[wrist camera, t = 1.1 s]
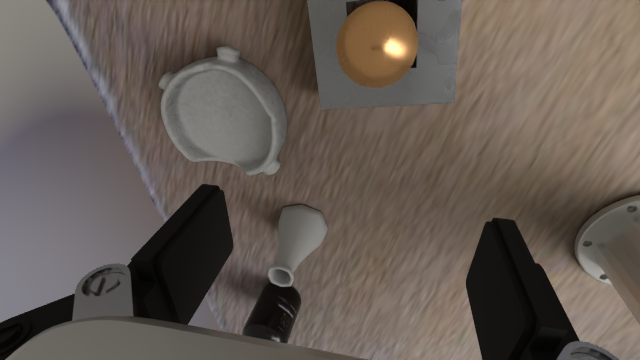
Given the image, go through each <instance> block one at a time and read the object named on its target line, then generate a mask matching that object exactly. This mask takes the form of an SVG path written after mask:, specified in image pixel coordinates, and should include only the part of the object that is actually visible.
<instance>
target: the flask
mask: <svg viewBox="0 0 640 360" xmlns="http://www.w3.org/2000/svg"><path fill="white" fill-rule="evenodd" d="M327 230H328V228H327V225H326V222H325V220H324V217H323V215H322V212H319V211H317V210H315V209H312V208H310V207H307V206H305V205H302V204H301V205H295V206H289V207H283V209H282V212H281V216H280V219H279V222H278V254H277V258H276V261H275V263H274V265H271V266H270V268H269V271H268V274H267V276H268V277H269V279H270V281H271V283H273V284H276V285H278V286H280V287H286V286H291V284H292V282H293V280H294V275H293V273H294V271H295V270H296V268H297V267H298V265H299V264H300V263H301V262H302V261H303V260H304V259H305V258H306V257H307V256H308V255H309V254H310V253H311V252H312V251H314V250H315V249H316V248H317V247H318V246H319V245H320V244H321V243H322V242H323V239H324V237H325V235H326V233H327Z"/></svg>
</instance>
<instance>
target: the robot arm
mask: <svg viewBox="0 0 640 360" xmlns="http://www.w3.org/2000/svg"><path fill="white" fill-rule="evenodd" d="M232 249H233V239H232V233H231V228H230V223H229V217H228V212H227V206H226V201H225V196H224V192H223V190H220V188H219V186H216V185H207V184H202V185H201V186H200V187H199V188H198V189H197V190H196V191H195V192H194V193H193V194H192V195H191V196H190V197H189V198H188V199H187V200H186V202H185V203H184V204H183V205H182V206H181V207H180V208H179V209H178V210H177V211H176V212H175V213H174V214H173V215H172V216H171V217H170V218H169V219H168V221H167V222H166V223H165V224H164V225H163V226H162V227H161V228H160V229H159V230H158V231H157V232H156V233H155V234H154V235H153V236H152V237H151V238H150V240H149V241H148V242H147V243H146V244H145V245H144V246H143V247H142V248H141V249H140V250H139V251H138V253H136V254H135V255H134V256H133V257H132V259H131V260H132V261H131V262H130V263H129V265H128V266H125V265H123V264H108V265H104V266H101V267H99V268H96V269H95V270H93V271H91V272H90V273H88V274H87V275H86V276H85V277H83V278H82V279H81V281H80V282H79V283H78V285H77V288H76V290H75V294H72V295H70V296H67V297H64V298H62V299H59V300H57V301H54V302H51V303H49V304H47V305H44V306H41V307H39V308H36V309H33V310H31V311H28V312H25V313H23V314H20V315H18V316H15V317H12V318H10V319H8V320H5V321H3V322H1V323H0V360H367V359H362V358H357V357H352V356H347V355H342V354H337V353H332V352H327V351H321V350H316V349H311V348H306V347H301V346H296V345H291V344H286V343H280V342H275V341H270V340H265V339H260V338H255V337H249V336H244V335H239V334H234V333H228V332H223V331H217V330H212V329H206V328H202V327H197V326H190V325H188V323H189V322H190V320H191V318H192V317H193V315H194V313H195V312H196V310H197V308H198V307H199V305H200V303H201V302H202V300H203V299H204V297H205V295H206V294H207V292H208V290H209V289H210V287H211V285H212V284H213V282H214V280H215V279H216V277H217V275H218V274H219V272H220V270H221V269H222V267H223V265H224V264H225V262H226V260H227V259H228V257H229V255H230V254H231V252H232ZM574 250H575V256H576V258H577V260H578V261H579V263H580V265H581V266H582V268H583V269H584V270H585V271H586V272H587V273H588V274H589V275H590V276H592V277H593V278H595V279H597V280H598V281H601V282H604V283H607V284H609V285H613V286H614V288H615V289H616V291H617V292H618V294H619V295H620V296H621V298H622V299H623V301H624V302H625V304H626V305H627V307H628V308H629V310H630V311H631V313H632V314H633V315H634V317H635V318H636V320H637V321H638V323H639V324H640V195H637V196H633V197H628V198H626V199H623V200H620V201H617V202H615V203H613V204H611V205H609V206H607V207H605V208H603V209H601V210H600V211H598V212H597V213H596V214H594V215H593V216H592V217H591V218H589V219H588V220H587V221H586V222H585V223H584V225H583V226H582V227H581V229H580V230H579V232H578V234H577V236H576V239H575V245H574ZM466 288H467V293H468V297H469V302H470V306H471V311H472V315H473V320H474V324H475V328H476V333H477V337H478V342H479V346H480V351H481V355H482V360H620V359H618V358H617V357H615V356H614V355H613V354H611V353H610V352H609V351H607V350H605V349H603V348H601V347H599V346H597V345H594V344H591V343H588V342H582V341H579V339H578V337H577V335H576V333H575V331H574V329H573V327H572V325H571V323H570V321H569V319H568V317H567V315H566V313H565V311H564V309H563V307H562V305H561V303H560V301H559V299H558V297H557V295H556V293H555V291H554V289H553V287H552V285H551V283H550V281H549V279H548V277H547V275H546V273H545V271H544V269H543V268H542V267H541V265H539V264H537V263H535V262H534V260H533V258H532V256H531V254H530V252H529V250H528V248H527V246H526V243H525V241H524V239H523V237H522V235H521V233H520V231H519V229H518V227H517V225H516V223H515V221H514V220H509V219H500V218H493V219H492V221H491V222H489V221H487V222H486V223H485V226H484V229H483V231H482V234H481V237H480V240H479V243H478V246H477V249H476V252H475V255H474V258H473V260H472V263H471V266H470V269H469V272H468V275H467V278H466Z"/></svg>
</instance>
